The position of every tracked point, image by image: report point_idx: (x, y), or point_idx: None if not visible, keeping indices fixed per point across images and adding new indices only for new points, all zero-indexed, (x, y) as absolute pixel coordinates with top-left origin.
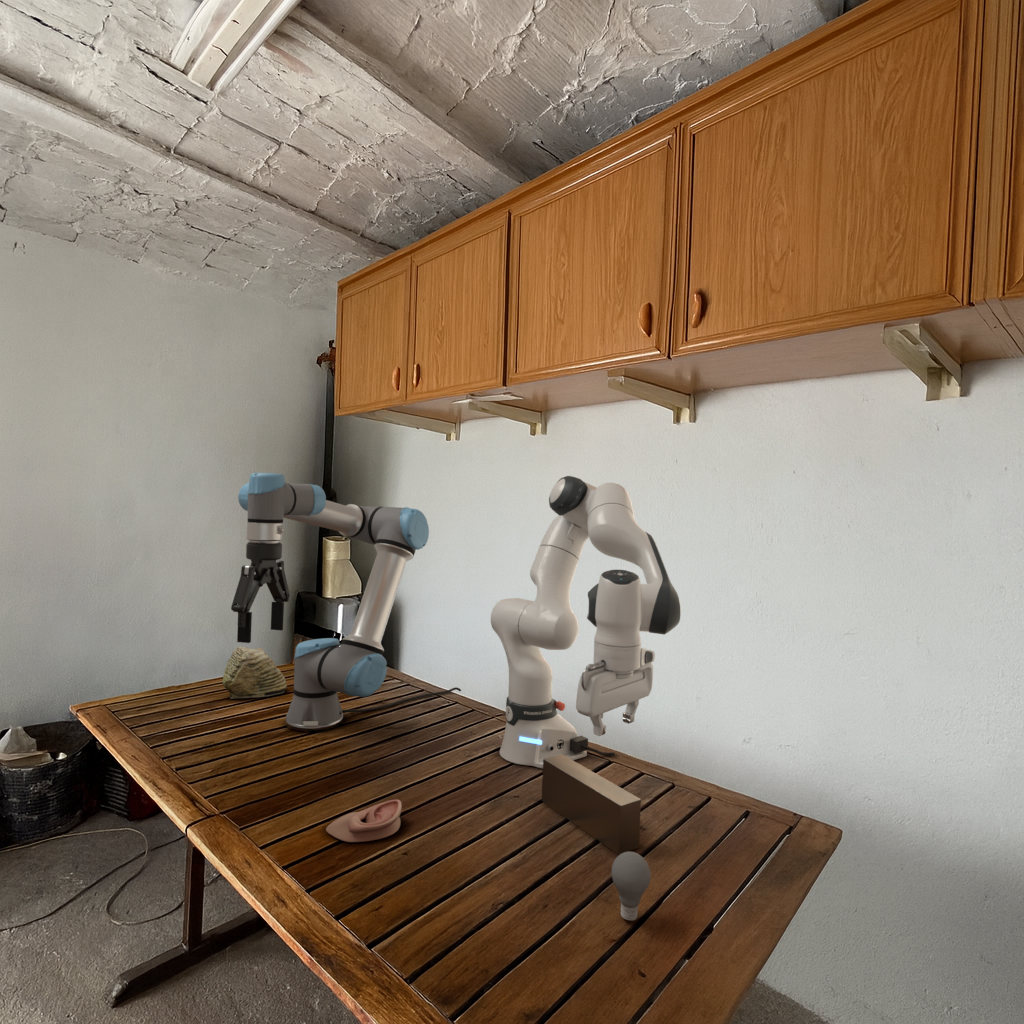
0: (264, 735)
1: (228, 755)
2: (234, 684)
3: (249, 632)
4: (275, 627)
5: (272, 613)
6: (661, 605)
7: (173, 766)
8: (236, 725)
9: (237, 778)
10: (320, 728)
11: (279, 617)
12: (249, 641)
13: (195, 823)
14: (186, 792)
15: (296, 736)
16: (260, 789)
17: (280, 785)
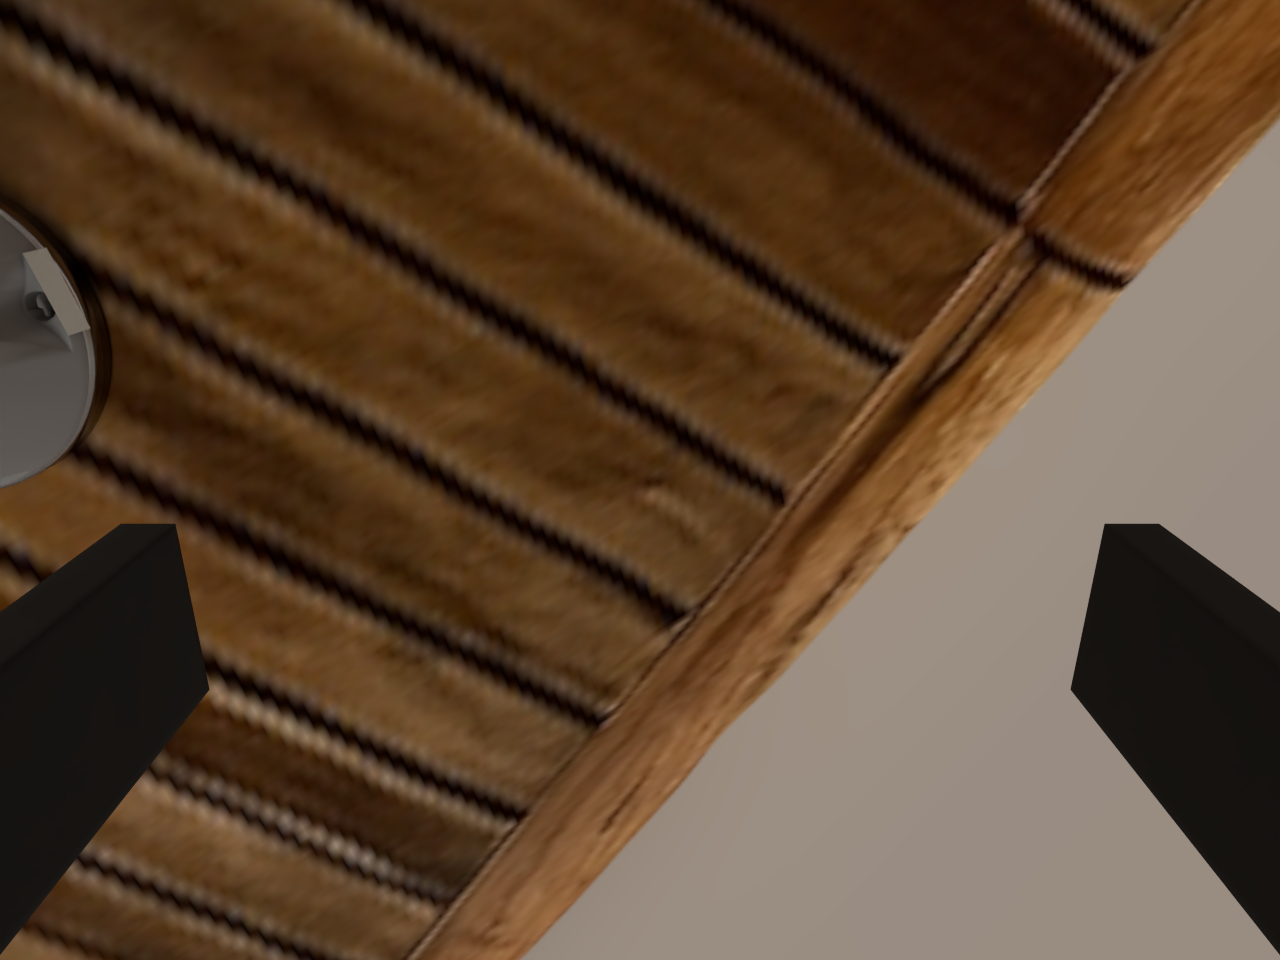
0: (227, 486)
1: (493, 510)
2: None
3: (1257, 602)
4: (174, 641)
5: (38, 873)
6: None
7: (655, 645)
8: None
9: (699, 340)
10: (42, 235)
11: (49, 685)
12: (1149, 533)
13: (1106, 269)
14: (861, 461)
15: (168, 330)
16: (781, 176)
17: (724, 102)
